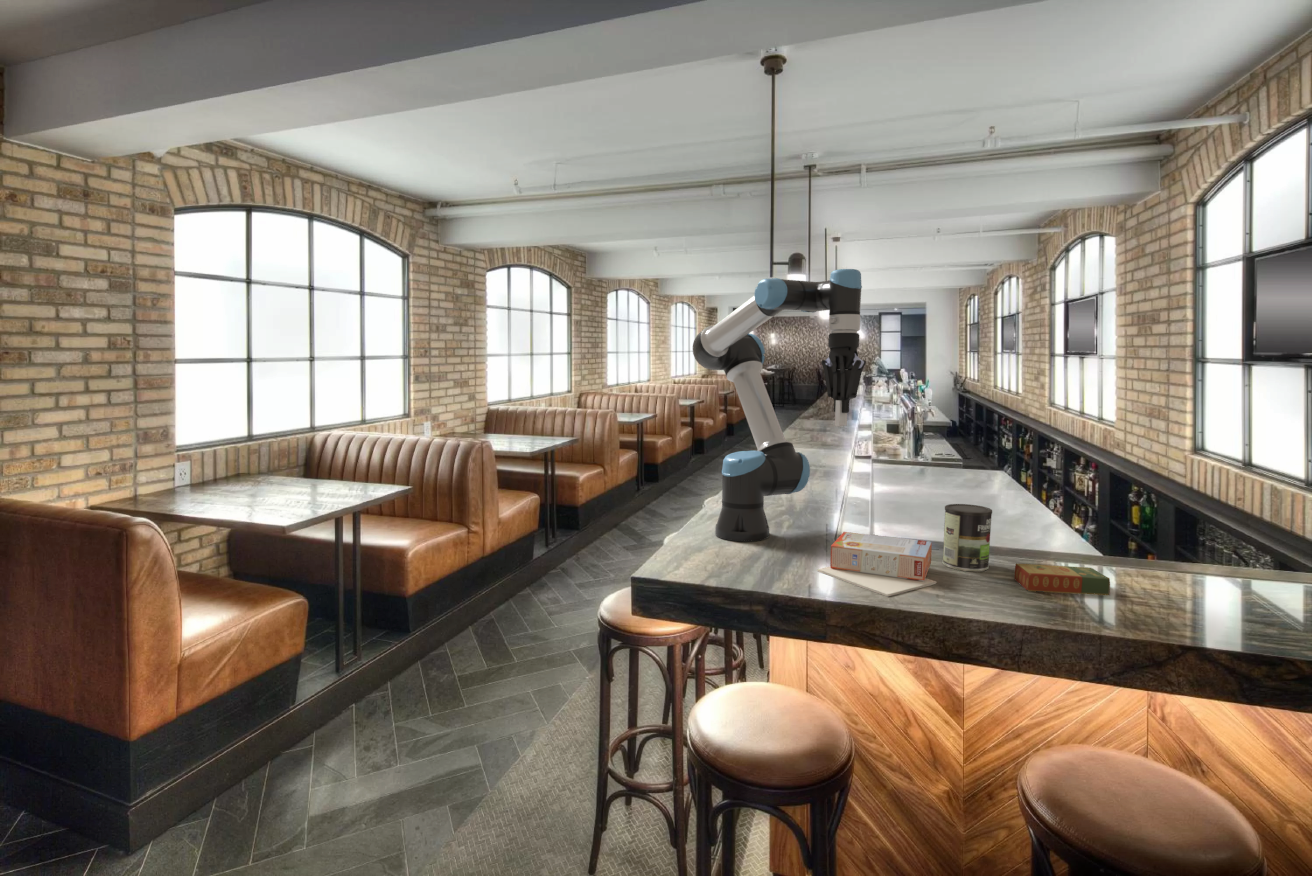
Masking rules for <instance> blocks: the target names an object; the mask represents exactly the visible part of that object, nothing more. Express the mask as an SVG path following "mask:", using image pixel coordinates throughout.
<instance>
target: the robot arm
mask: <svg viewBox="0 0 1312 876" xmlns="http://www.w3.org/2000/svg"><path fill="white" fill-rule="evenodd" d="M829 277H830V278H829V280H824V281H809V280H794V279H784V278H777V277H773V278H763V279H761V280H760V281H759V282H758V283H757V286H756V287H755V289H754V293H753V294H754V295H753V296H751V297H750V298H749V299H747V300H746V301H745V302H743V303H742V304H741V305H740V306H738V307H737V308H736V309H734V310H733V311H732V312H731V313H729V314H728V315H727V316H725V317H724V318H723V319H721V320H720V321H719V322H717V323H716V324H714V325H709V326H706V327H704V329H702V330H700V332H698V334H697V335H696V337H695V338H694V340H693V343H692V355H693V357H694V360H695V361H696V362H697V363H698V364H699V365H700V366H701V367H703V368H704V369H707V370H711V371H723V372H724V374H725V376H726V379H727V381H729V382H732V383H733V384H734V387H735V391H736V393H737V396H738V398H739V402H740V404H741V407H742V410H743V412H744V415H745V418H746V422H747V424H748V427H749V429H750V432H751V435H752V437H753V440H754V443H755V446H756V448H757V450H742V451H735V452H732V453H729V454H727V455H725V457H724V458H723V460H722V469H721V476H722V477H721V479H722V480H721V481H722V485H721V489H722V491H721V509H720V513H719V516H718V519H717V523H716V524H715V531H714V532H715V533H714V534H715V536H716V537H718V538H721V539H722V540H728V541H734V542H757V541H764V540H767V539H768V538H770V526H769V524H768V519H767V516H766V513H765V508H764V507H765V505H764V504H765V503H764V501H765V499H764V498H765V497H770V496H780V495H791V494H794V493H795V494H796V493H799V492H801V491H802V490H804V489H805V487H806V486H807V485H808V482H809V478H810V476H811V475H810V474H811V466H810V461H809V459H808V458H807V456H806V455H805V454H803V453H802V452H800V451H799V452H798V451H796V450H795V447H794V445H793V442H791V441H789V440H786V438H785V436H784V433H783V430H782V428H781V425H780V422H779V420H778V417H777V415H776V412H775V409H774V407H773V404H772V401H771V398H770V396H769V393H768V390H767V387H766V385H765V383H764V379H763V377H762V375H761V372H762V370H763V368H764V366H763V365H764V362H765V358H766V357H765V354H766V350H765V347H764V343H763V342H762V340H761V338H760V337H758V336H757V335H756V334H753V333H752V332H753V331H754V330H756V329H757V328H758V327H761V325H763V324H764V323H766V322H768V321H769V320H770V319H772V318H773V317H774V316H776V315H778V314H780V313H781V312H782V311H786V310H787V311H801V312H803V313H816V312H822V311H823V312H825V311H829V312H828V315H829V317H828V318H829V320H828V332H830V333H829V334H828V338H827V339H828V342H827V343H828V344H827V347H828V348H829V349H830V351H829V353H828V357H827V358H826V359H823V360H821V361H820V363H821V366H822V368H823V372H824V378H825V386H826V394H827V397H829V398H831V399H833V412H834V426H835V427H846V426H848V425H847V424H848V422H847V421H848V414H849V413H850V401H851V400H852V399H856V398H857V395H858V390H859V387H860V382H861V377H862V374H863V369H864V368H865V366H866V364H867V361H866V360H865V359H861V358H860V357H859V353H858V348H859V347H860V333H858V332H859V331H860V330H861V304H862V303H861V302H862V300H861V299H862V288H863V285H862V273H861V271H860V270H858V269H854V268H840V269H834V270H833V271H831V272H830V276H829Z"/></svg>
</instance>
